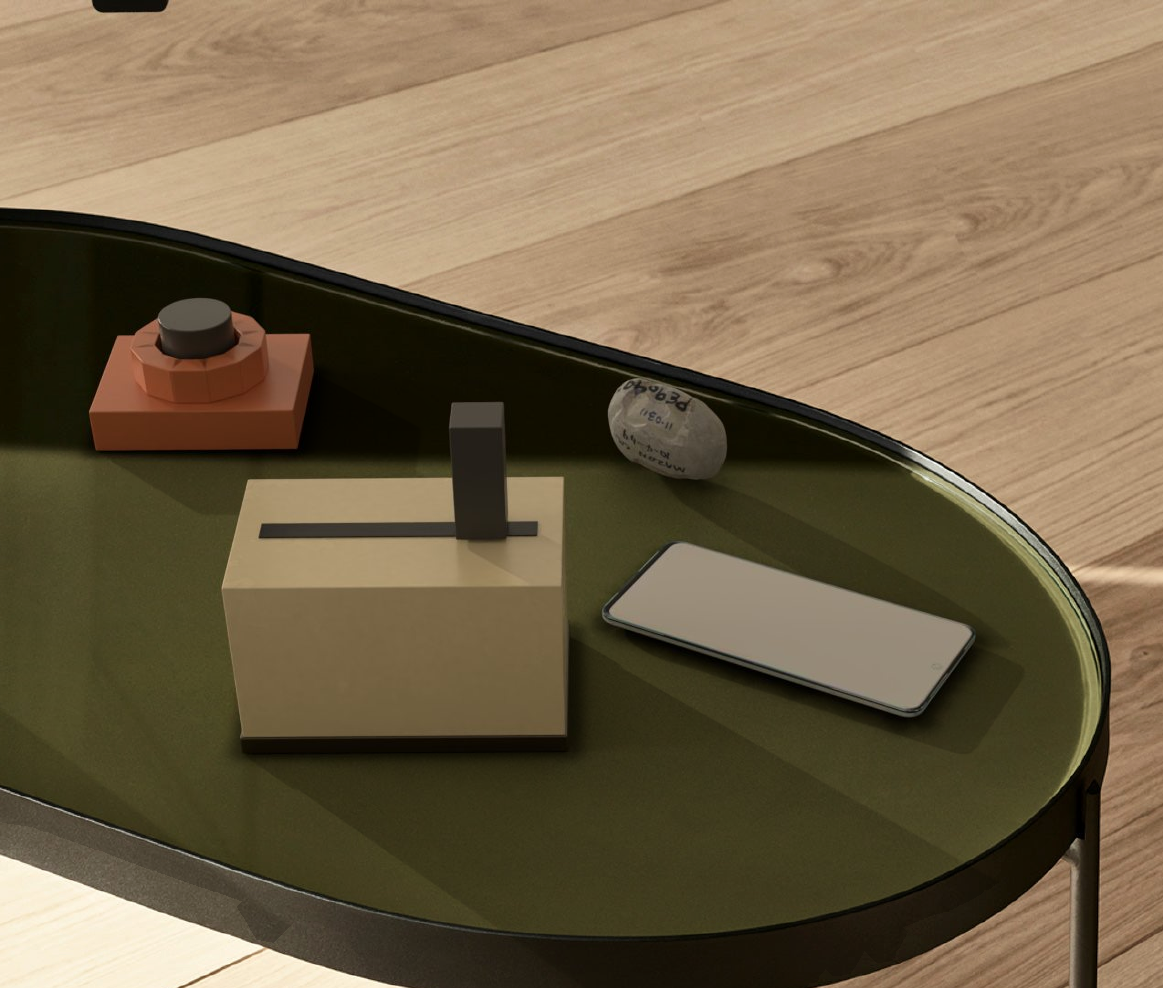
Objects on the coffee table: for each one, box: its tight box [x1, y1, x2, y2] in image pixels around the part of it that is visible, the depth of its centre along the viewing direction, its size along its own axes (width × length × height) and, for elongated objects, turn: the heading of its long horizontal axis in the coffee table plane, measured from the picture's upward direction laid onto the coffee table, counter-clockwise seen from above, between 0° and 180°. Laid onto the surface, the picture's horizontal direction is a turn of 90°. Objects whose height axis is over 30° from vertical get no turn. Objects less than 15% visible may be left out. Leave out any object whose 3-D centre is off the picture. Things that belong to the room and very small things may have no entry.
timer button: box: [157, 297, 235, 359], centre depth 104 cm, size 4×4×2 cm
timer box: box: [88, 310, 315, 452], centre depth 106 cm, size 10×8×4 cm
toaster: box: [221, 476, 571, 754], centre depth 86 cm, size 13×8×8 cm, turn 90°
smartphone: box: [601, 540, 977, 718], centre depth 91 cm, size 7×1×15 cm
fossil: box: [607, 377, 728, 481], centre depth 100 cm, size 6×3×5 cm, turn 59°
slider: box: [448, 401, 508, 540], centre depth 82 cm, size 2×2×5 cm
